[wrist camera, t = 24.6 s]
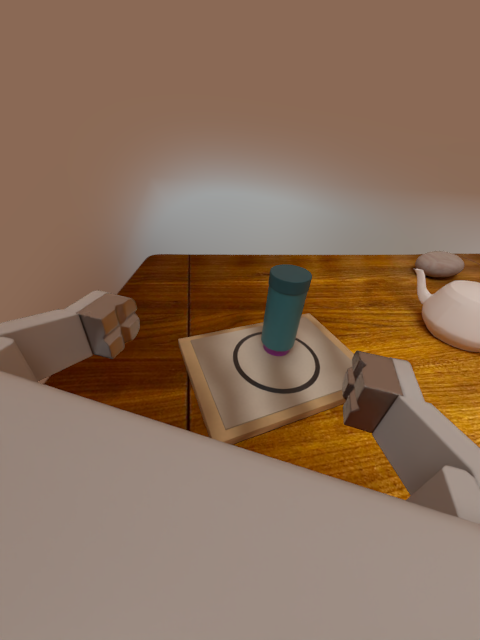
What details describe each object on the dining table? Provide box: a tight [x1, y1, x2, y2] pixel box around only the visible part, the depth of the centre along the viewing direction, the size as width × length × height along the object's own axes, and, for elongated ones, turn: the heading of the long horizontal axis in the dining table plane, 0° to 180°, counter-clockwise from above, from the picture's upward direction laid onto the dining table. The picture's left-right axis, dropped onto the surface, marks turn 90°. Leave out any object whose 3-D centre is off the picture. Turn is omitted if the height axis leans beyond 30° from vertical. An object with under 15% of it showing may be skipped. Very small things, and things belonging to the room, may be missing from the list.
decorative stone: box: [415, 251, 464, 277], centre depth 63 cm, size 13×9×5 cm
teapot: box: [414, 269, 480, 352], centre depth 41 cm, size 20×12×10 cm, turn 36°
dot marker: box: [261, 265, 312, 356], centre depth 32 cm, size 5×5×11 cm
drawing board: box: [178, 313, 354, 445], centre depth 34 cm, size 22×16×2 cm
